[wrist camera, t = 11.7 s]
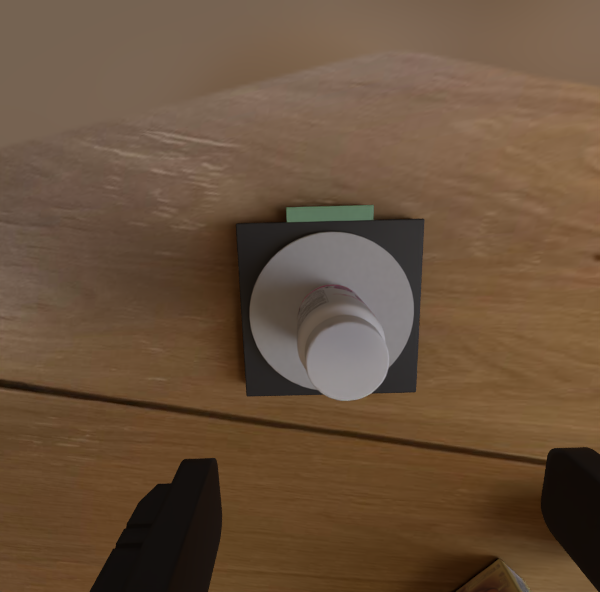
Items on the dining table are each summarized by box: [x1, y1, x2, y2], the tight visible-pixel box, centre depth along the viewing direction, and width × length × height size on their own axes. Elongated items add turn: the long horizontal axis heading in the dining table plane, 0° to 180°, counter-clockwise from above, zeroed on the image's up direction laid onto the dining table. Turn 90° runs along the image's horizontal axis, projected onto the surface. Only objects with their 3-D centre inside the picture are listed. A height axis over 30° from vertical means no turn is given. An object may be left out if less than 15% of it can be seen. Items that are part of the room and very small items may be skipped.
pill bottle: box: [297, 284, 389, 401], centre depth 20 cm, size 5×5×8 cm
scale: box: [236, 205, 424, 396], centre depth 26 cm, size 14×13×3 cm
